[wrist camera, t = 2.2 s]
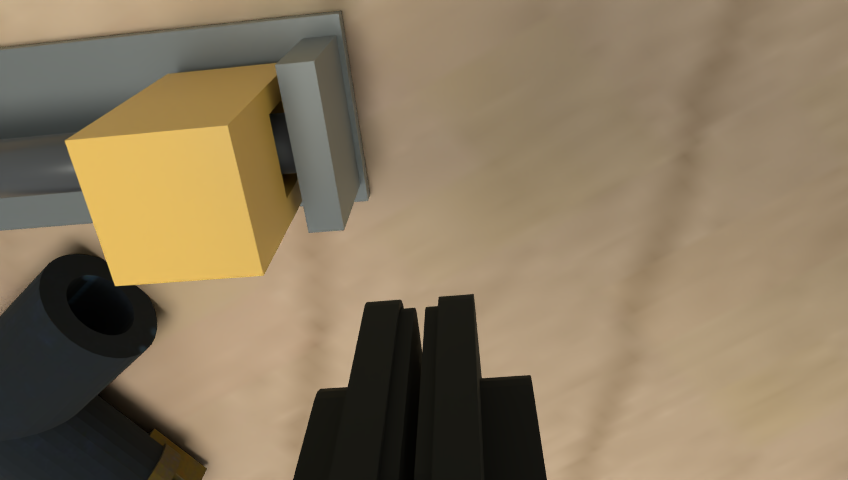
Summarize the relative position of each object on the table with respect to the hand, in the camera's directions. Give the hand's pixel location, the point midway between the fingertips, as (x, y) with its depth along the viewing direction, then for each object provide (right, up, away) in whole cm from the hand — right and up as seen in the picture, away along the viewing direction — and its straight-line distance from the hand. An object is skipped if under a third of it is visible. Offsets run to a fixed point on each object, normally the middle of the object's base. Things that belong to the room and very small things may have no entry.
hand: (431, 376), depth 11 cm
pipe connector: (-16, -6, +23) cm, 29 cm away
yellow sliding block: (-7, +6, +15) cm, 17 cm away
